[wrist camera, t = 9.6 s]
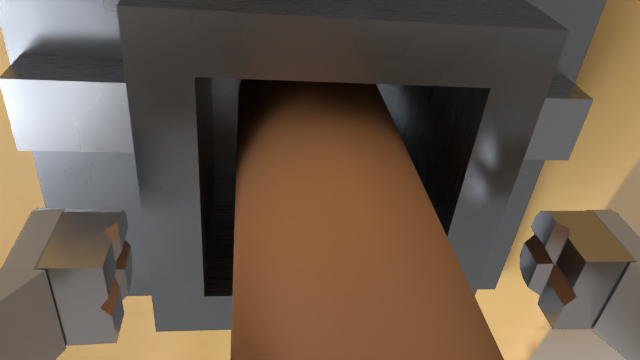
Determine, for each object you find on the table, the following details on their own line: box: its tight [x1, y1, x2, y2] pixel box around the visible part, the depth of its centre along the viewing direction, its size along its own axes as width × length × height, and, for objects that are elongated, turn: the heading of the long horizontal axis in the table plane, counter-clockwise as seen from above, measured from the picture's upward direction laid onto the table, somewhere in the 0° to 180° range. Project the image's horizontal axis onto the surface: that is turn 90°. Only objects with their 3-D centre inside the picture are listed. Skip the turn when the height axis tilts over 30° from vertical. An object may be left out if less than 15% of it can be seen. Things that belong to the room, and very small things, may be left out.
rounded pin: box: [231, 79, 504, 360], centre depth 11 cm, size 4×4×11 cm
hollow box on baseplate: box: [0, 0, 606, 332], centre depth 14 cm, size 16×16×6 cm
